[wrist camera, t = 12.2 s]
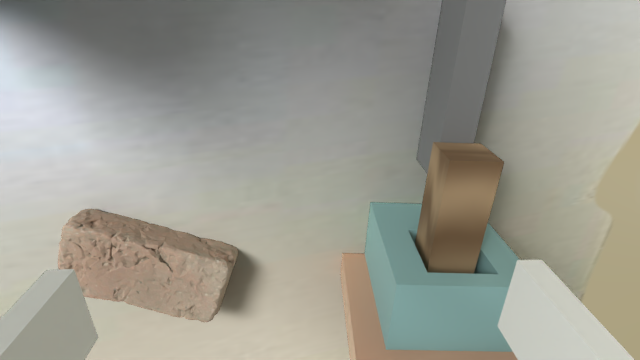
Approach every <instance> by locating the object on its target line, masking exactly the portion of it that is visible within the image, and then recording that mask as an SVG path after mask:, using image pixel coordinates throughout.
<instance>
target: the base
mask: <svg viewBox="0 0 640 360" xmlns="http://www.w3.org/2000/svg"><path fill="white" fill-rule="evenodd" d="M341 284H342V293H343V302H344V311H345V320H346V329H347V337H348V346H349V355H350V360H518V359H517V358H516V356H515V354H514V353H513V352H495V351H437V350H386V347H385V343H384V338H383V334H382V330H381V325H380V321H379V316H378V312H377V307H376V303H375V298H374V294H373V289H372V285H371V280H370V276H369V271H368V267H367V262H366V258H365V254H352V253H342V263H341Z"/></svg>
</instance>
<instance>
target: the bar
mask: <svg viewBox="0 0 640 360" xmlns="http://www.w3.org/2000/svg"><path fill="white" fill-rule="evenodd" d="M503 164H504V161H502V160H501V159H500V158H498V157H497V156H496V155H495V154H493V153H492V152H491V151H490V150H488V149H487V148H486V147H485V146H483V145H482V144H477V143H444V142H433V146H432V151H431V157H430V163H429V168H428V174H427V179H426V185H425V190H424V196H423V202H422V207H421V213H420V218H419V224H418V229H417V235H416V241H415V246H416V248H417V251H418V253H419V255H420V257H421V259H422V262H423V264H424V266H425V268H426V270H427V272H428V273H468V274H474V271H475V268H476V264H477V260H478V256H479V253H480V249H481V245H482V242H483V238H484V234H485V231H486V227H487V223H488V220H489V216H490V212H491V209H492V205H493V201H494V198H495V194H496V190H497V187H498V183H499V179H500V176H501V172H502V168H503Z"/></svg>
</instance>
